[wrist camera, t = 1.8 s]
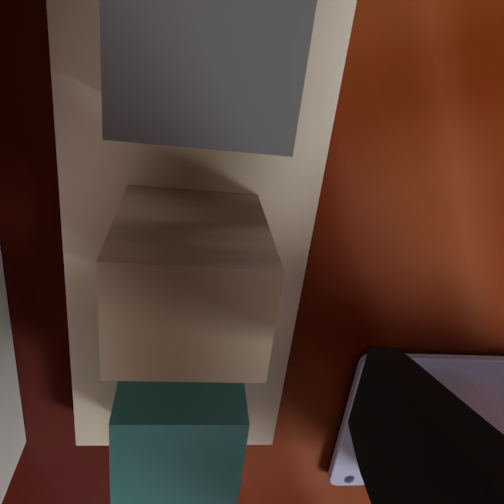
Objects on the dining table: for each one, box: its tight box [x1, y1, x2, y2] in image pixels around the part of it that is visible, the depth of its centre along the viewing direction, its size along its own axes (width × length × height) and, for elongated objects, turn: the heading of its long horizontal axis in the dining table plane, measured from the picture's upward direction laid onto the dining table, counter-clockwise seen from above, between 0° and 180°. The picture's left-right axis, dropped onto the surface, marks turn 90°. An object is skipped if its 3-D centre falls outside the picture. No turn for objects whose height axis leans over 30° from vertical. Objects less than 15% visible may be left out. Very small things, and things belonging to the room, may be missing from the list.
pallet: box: [46, 0, 357, 446], centre depth 14 cm, size 8×19×7 cm, turn 173°
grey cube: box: [99, 0, 317, 157], centre depth 11 cm, size 4×4×4 cm
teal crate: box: [109, 381, 250, 504], centre depth 16 cm, size 4×4×4 cm
